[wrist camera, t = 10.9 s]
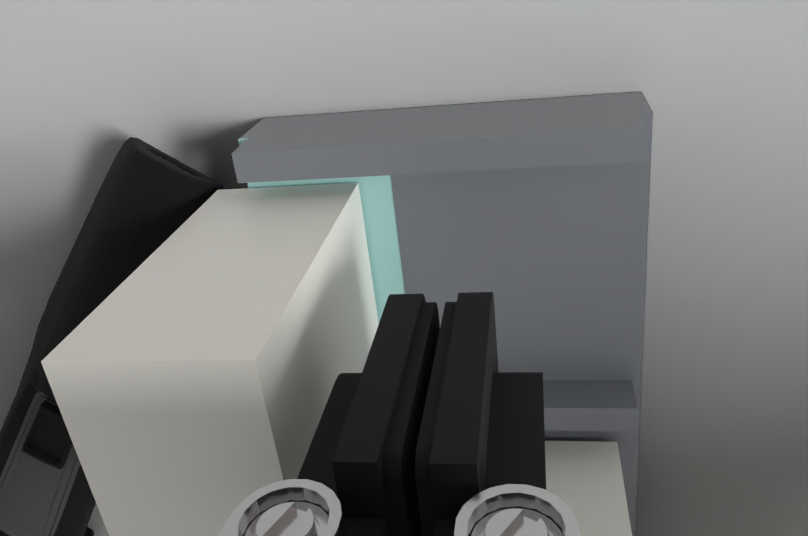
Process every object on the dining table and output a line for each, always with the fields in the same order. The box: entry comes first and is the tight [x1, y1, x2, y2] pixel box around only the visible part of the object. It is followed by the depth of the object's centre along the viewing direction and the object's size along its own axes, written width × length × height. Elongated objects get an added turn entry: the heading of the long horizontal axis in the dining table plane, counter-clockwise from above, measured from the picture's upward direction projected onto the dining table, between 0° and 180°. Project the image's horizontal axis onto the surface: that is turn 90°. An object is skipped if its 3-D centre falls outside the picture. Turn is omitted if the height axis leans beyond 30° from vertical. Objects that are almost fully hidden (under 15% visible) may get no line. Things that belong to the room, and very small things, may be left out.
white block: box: [41, 183, 379, 536], centre depth 13 cm, size 3×4×6 cm
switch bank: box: [231, 92, 653, 536], centre depth 19 cm, size 8×19×2 cm, turn 6°
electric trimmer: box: [0, 137, 224, 536], centre depth 19 cm, size 4×16×3 cm, turn 151°
